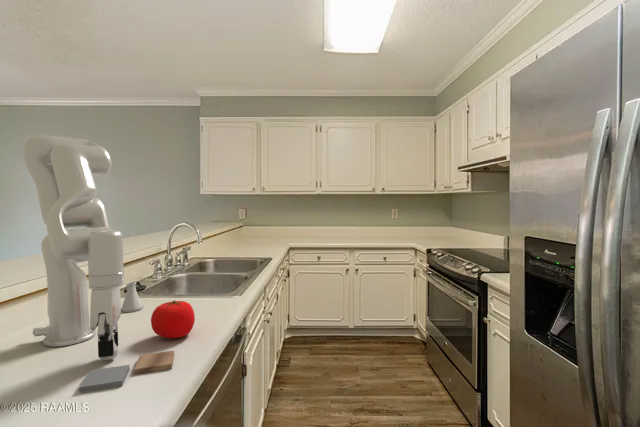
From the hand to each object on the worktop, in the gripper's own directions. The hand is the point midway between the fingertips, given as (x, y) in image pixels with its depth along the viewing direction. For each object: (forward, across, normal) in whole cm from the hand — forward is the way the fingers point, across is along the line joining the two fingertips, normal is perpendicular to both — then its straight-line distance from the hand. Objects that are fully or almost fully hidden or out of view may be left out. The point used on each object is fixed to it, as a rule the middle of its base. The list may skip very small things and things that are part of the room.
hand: (108, 351), depth 90 cm
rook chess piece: (+2, 0, 0) cm, 2 cm away
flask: (+4, -45, -2) cm, 45 cm away
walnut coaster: (+2, +7, +12) cm, 13 cm away
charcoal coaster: (+2, +12, +2) cm, 12 cm away
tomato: (+3, -11, +14) cm, 18 cm away
